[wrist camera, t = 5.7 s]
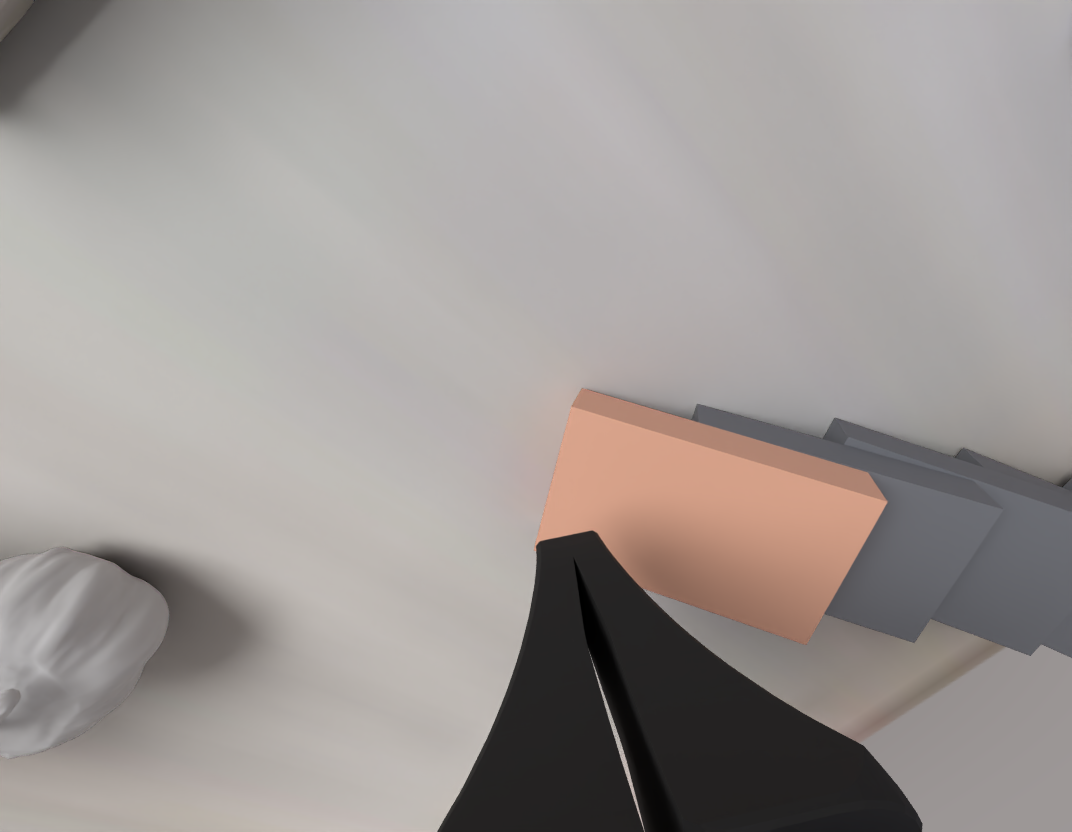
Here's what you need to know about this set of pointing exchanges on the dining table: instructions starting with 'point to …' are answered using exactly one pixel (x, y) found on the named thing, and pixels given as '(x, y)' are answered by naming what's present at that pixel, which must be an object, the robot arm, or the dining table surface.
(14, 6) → the packaged product
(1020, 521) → the domino
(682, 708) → the robot arm
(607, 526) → the domino
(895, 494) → the domino
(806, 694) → the dining table surface
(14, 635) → the garlic
